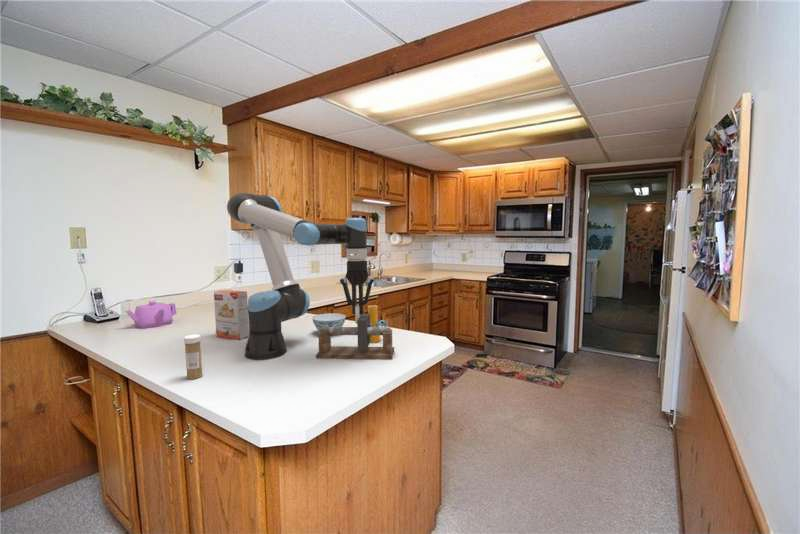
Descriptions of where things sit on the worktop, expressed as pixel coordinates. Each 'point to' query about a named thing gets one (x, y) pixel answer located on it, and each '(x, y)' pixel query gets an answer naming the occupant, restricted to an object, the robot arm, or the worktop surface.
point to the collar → (363, 331)
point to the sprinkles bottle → (193, 356)
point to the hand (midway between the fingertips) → (358, 322)
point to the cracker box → (231, 314)
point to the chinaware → (328, 320)
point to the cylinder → (374, 321)
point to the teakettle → (153, 314)
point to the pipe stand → (353, 351)
